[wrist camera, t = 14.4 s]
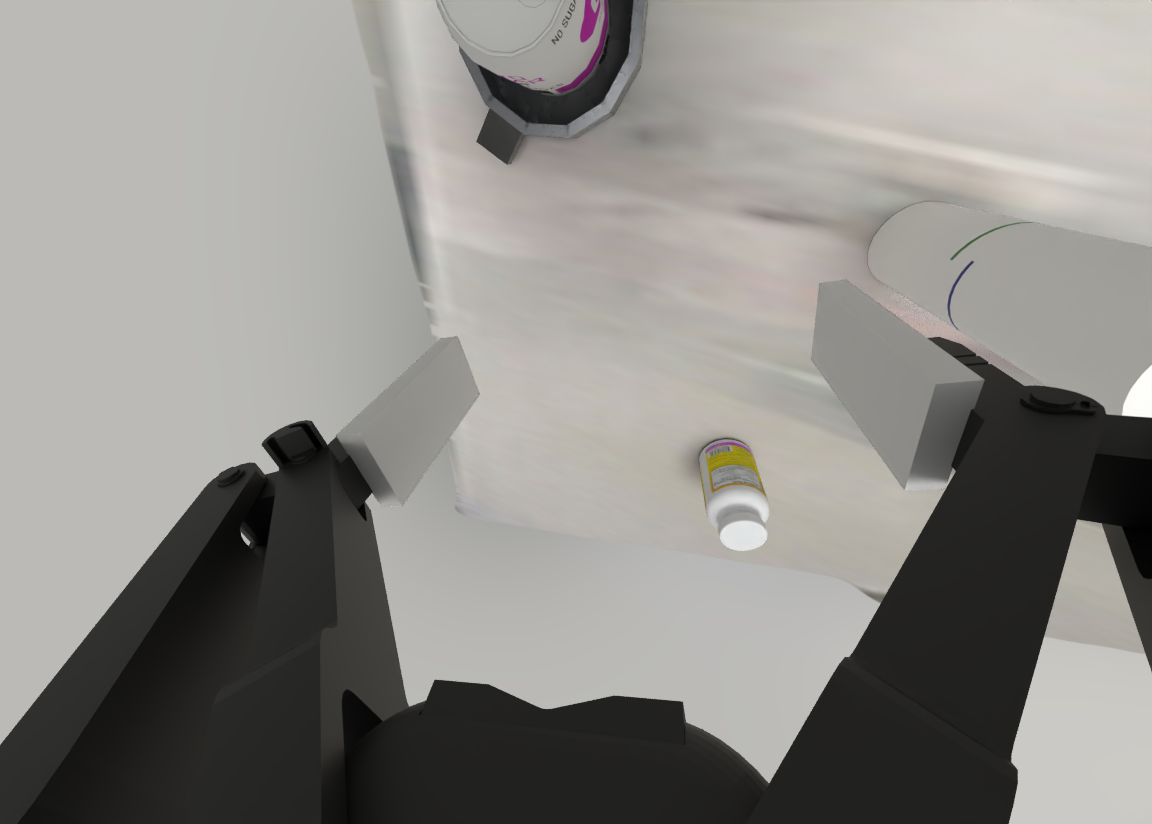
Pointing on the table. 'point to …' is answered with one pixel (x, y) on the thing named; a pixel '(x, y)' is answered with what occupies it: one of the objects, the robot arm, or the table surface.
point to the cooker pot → (562, 116)
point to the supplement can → (533, 39)
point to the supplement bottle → (734, 494)
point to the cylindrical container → (1030, 296)
